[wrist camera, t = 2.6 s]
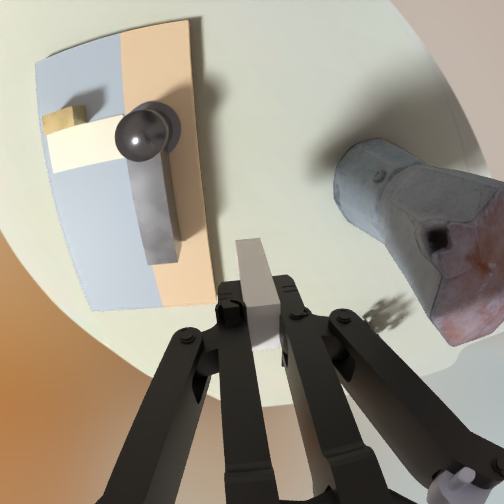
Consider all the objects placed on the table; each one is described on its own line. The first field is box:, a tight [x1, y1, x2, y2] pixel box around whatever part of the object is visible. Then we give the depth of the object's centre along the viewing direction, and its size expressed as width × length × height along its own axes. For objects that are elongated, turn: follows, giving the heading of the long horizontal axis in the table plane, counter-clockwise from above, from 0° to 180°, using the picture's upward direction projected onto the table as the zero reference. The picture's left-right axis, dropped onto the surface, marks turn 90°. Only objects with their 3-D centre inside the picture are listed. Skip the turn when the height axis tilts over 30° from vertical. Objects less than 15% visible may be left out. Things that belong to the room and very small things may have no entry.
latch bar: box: [115, 109, 182, 265], centre depth 21 cm, size 12×4×4 cm, turn 3°
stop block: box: [42, 105, 87, 135], centre depth 18 cm, size 2×3×2 cm, turn 93°
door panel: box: [35, 20, 217, 311], centre depth 23 cm, size 26×14×1 cm, turn 3°
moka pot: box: [333, 138, 504, 347], centre depth 17 cm, size 10×15×20 cm, turn 74°
